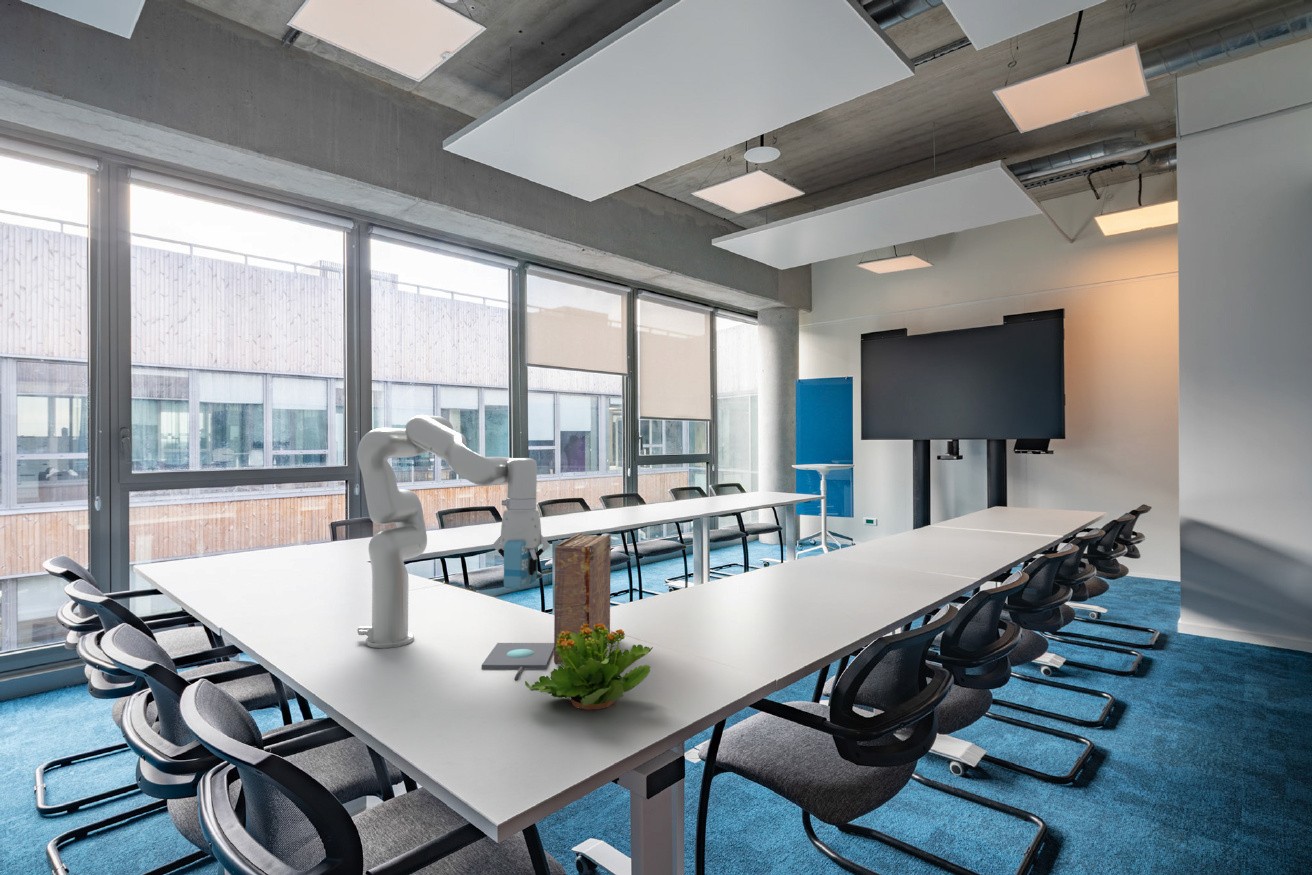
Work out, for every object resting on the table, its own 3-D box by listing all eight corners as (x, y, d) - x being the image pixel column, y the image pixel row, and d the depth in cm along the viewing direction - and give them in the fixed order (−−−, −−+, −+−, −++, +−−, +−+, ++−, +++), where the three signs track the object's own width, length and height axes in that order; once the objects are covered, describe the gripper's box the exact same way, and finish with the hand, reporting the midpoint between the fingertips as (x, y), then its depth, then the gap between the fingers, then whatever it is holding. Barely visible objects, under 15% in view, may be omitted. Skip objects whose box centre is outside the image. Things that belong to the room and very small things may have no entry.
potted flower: (577, 674, 160) (578, 602, 160) (667, 689, 151) (668, 613, 151) (518, 713, 137) (518, 629, 137) (620, 733, 128) (621, 643, 128)
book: (579, 634, 193) (580, 532, 194) (610, 636, 192) (611, 533, 192) (553, 663, 168) (554, 546, 168) (588, 665, 167) (589, 547, 167)
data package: (519, 590, 167) (520, 542, 167) (503, 589, 168) (503, 541, 168) (537, 580, 179) (538, 536, 179) (521, 579, 179) (522, 535, 179)
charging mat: (473, 680, 156) (473, 675, 156) (497, 646, 182) (497, 642, 182) (541, 680, 156) (541, 676, 156) (555, 646, 182) (555, 642, 182)
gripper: (485, 506, 169) (484, 576, 169) (552, 506, 170) (551, 577, 169) (492, 503, 177) (491, 570, 177) (556, 503, 177) (555, 571, 177)
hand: (520, 573), depth 173 cm, fingers closed on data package, 5 cm apart
